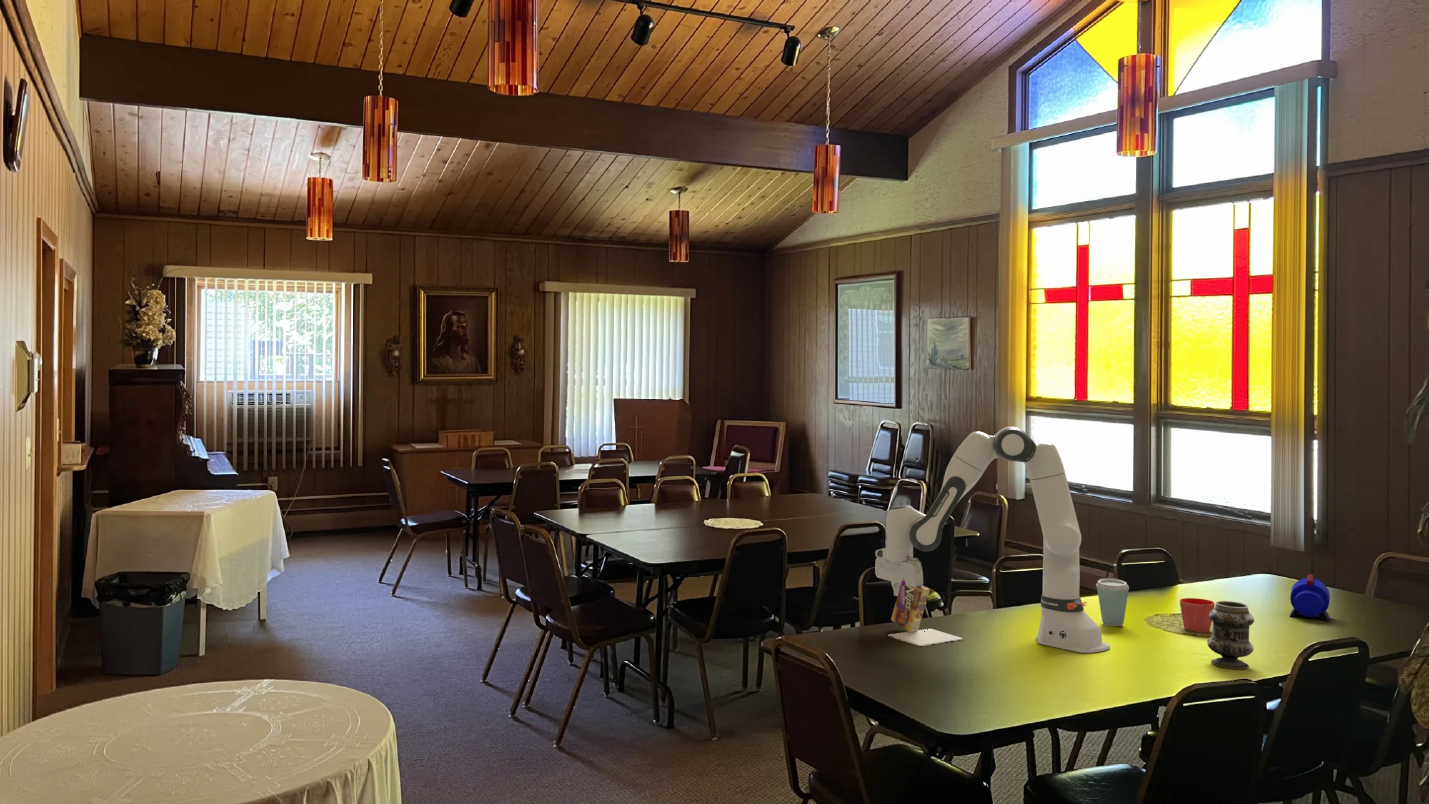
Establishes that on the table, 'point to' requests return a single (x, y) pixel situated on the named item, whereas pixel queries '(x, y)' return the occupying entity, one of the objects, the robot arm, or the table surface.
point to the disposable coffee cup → (1112, 601)
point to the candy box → (910, 606)
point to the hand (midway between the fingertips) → (898, 596)
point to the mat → (925, 637)
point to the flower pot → (1196, 614)
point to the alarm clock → (1310, 598)
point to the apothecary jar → (1230, 634)
